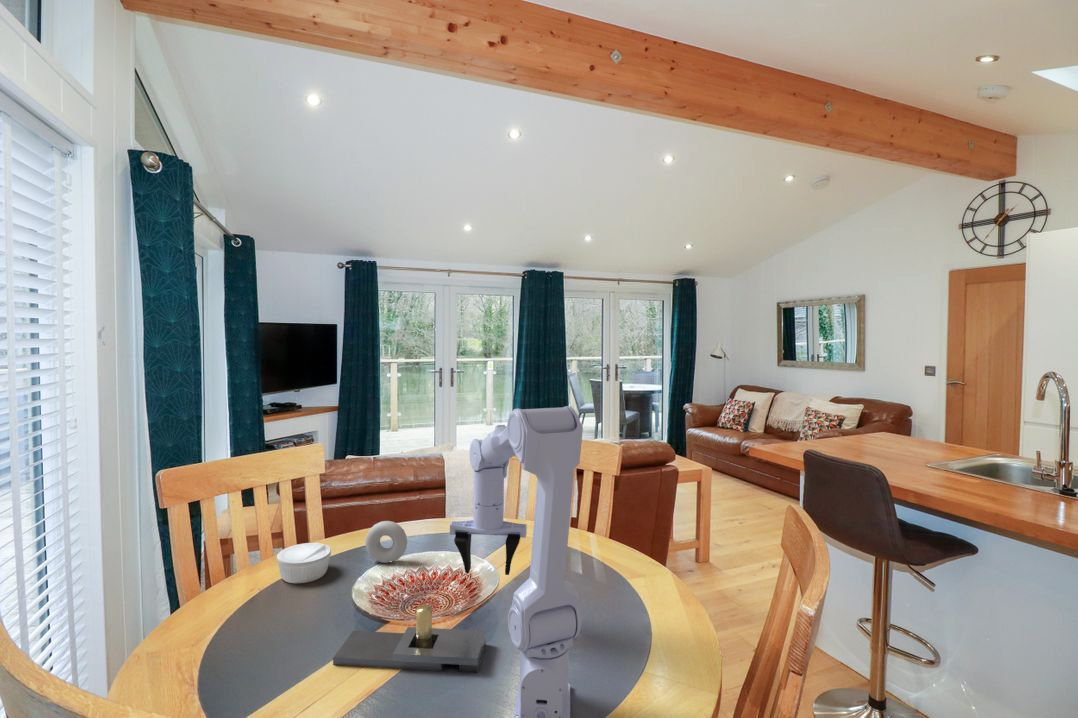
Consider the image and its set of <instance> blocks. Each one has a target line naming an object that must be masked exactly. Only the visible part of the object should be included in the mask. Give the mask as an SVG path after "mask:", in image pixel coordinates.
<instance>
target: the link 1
mask: <svg viewBox="0 0 1078 718" xmlns="http://www.w3.org/2000/svg"><path fill="white" fill-rule="evenodd" d="M404 633H405V632H403V633H402V632H389V631H388V632H387V631H370V630H369V631H367V630H352V631H351V633H350V635H349V636H348V637H347V639H345V641H344V642H343V644H342V645H341V646H340V648H339V649H338V651H337V652H336V653H335V655H334V656H333V657H332V659H333V660H332V665H333V666H347V667H348V666H352V667H369V668H384V669H385V668H386V669H404V670H422V671H424V670H425V671H440V672H441V671H442V670H443V669H442V668H443V666H444V664H439V663H421V662H403V661H393V652H394V651H395V649H396V647H397V645H398V644H399V642H400V640H401V638H402V637H403V635H404ZM435 642H436V641H432V649H433V647H434V645H435ZM411 648H416V640H415V641H414V643H413V645H412V647H411Z"/></svg>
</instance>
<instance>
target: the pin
mask: <svg viewBox="0 0 1078 718" xmlns="http://www.w3.org/2000/svg"><path fill="white" fill-rule="evenodd" d="M415 614H416V615H415V616H416V618H415V620H416V621H415V622H416V624H415V625H416V626H415V627H416V647H415V648H425V649H433V648H432V628H433V607H432V605H430V604H422V605H419V606H417V607H416V612H415Z"/></svg>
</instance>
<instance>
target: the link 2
mask: <svg viewBox="0 0 1078 718" xmlns="http://www.w3.org/2000/svg"><path fill="white" fill-rule="evenodd" d="M486 632H487V631H486V630H477V629H476V630H474V629H473V630H472V629H455V628H438V627H437V628H436V627H435V628H434V627H432V641H436V642H435V645H434V647H433V648H432V649H425V648H416V647H415V648H411V647H412V645H413V643H414V641H415V640H416V626H415V627H414V626H408V627H407V628H406V630H405V631H404V632H403V633H404V635H403V637H402V638H401V640H400V642H399V644H398V645H397V647H396V649H395V651H394V652H393V661H403V662H421V663H439V664H443V665H459V666H458V668H459V669H458V672H459V673H470V674H471V673H474V674H475V673H476V674H478V672H479V669H480V664H481V661H482V659H483V654H484V650H485V648H486V635H487V634H486Z"/></svg>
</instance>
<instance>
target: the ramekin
mask: <svg viewBox="0 0 1078 718" xmlns="http://www.w3.org/2000/svg"><path fill="white" fill-rule="evenodd" d="M331 555H332V549H331V547H330V545H328V544H326V543H325V544H324V543H321V542H306V543H303V542H302V543H299V544H294V545H290V546H287V547H286V548H283V549H281V550H280V551H279V552H278V553H277V555H276V562H277V563H278V570H279V575H280V578H281V579H282V580H283V581H284V582H286V583H288V584H306V583H310V582H315V581H317V580H318V579H320V578H322V577H324V575H325V574H326V573H327V572H328V571H327V570H328V567H329V562H330V556H331Z"/></svg>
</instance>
